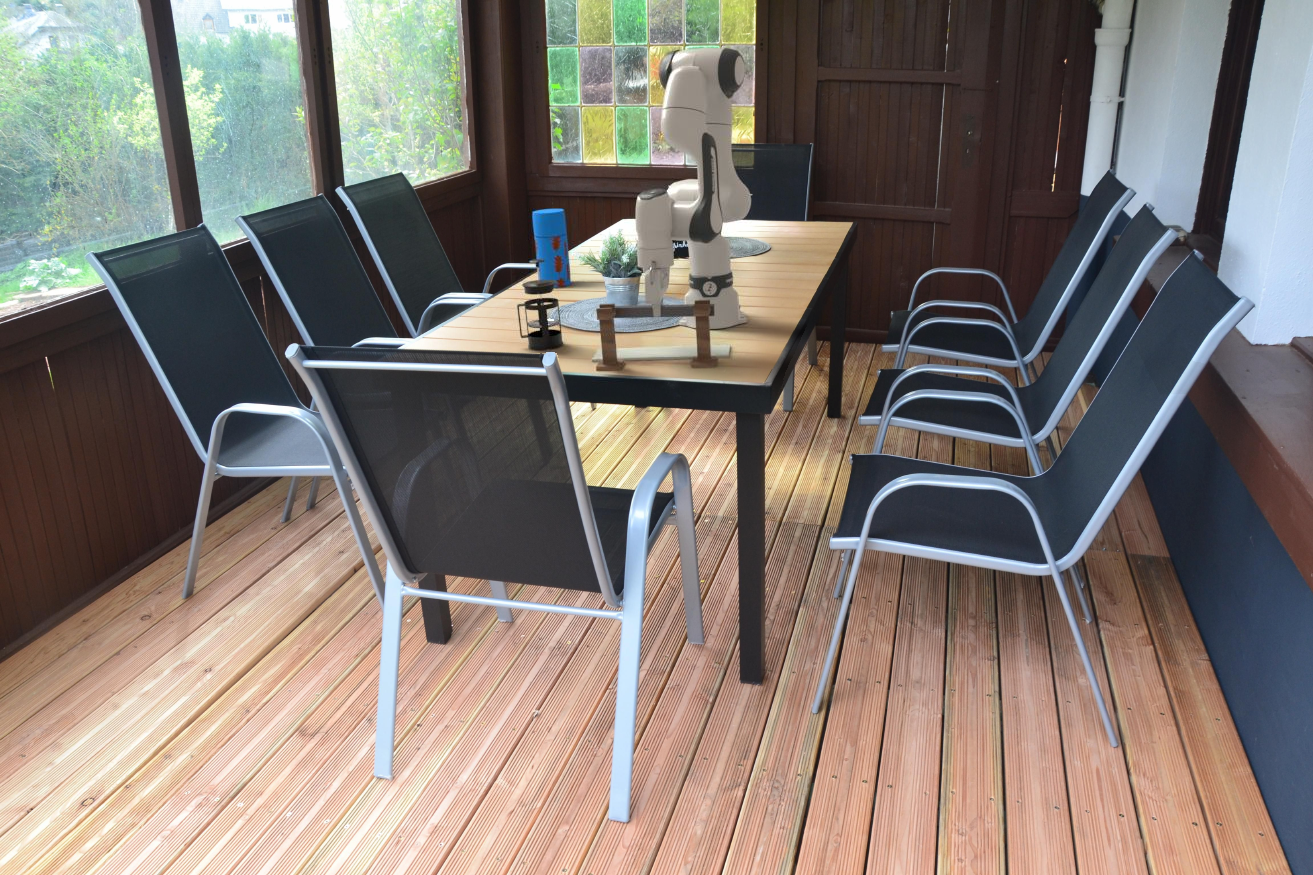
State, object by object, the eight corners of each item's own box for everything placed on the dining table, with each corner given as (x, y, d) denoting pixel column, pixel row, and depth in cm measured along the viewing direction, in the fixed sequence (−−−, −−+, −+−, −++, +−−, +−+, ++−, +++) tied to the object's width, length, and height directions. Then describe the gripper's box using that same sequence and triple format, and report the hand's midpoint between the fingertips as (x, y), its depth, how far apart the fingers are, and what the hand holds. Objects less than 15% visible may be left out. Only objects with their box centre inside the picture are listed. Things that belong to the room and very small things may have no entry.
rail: (603, 316, 255) (602, 306, 254) (714, 313, 252) (714, 303, 251) (601, 318, 253) (600, 308, 252) (714, 316, 249) (713, 306, 249)
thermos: (537, 284, 352) (529, 211, 344) (567, 280, 355) (560, 207, 347) (543, 289, 342) (535, 214, 334) (574, 286, 345) (567, 211, 337)
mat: (598, 351, 263) (598, 348, 263) (730, 346, 259) (730, 344, 258) (591, 361, 254) (591, 359, 253) (728, 357, 249) (728, 355, 249)
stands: (600, 363, 251) (595, 304, 246) (717, 360, 248) (715, 299, 243) (596, 370, 246) (591, 309, 241) (716, 367, 242) (713, 305, 237)
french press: (563, 339, 277) (555, 254, 269) (567, 347, 268) (559, 260, 260) (520, 344, 275) (511, 259, 267) (523, 352, 266) (513, 265, 258)
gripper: (663, 265, 237) (666, 323, 242) (672, 251, 257) (674, 305, 261) (637, 266, 238) (640, 324, 243) (647, 252, 257) (650, 306, 262)
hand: (658, 314), depth 252 cm, fingers closed on rail, 2 cm apart
